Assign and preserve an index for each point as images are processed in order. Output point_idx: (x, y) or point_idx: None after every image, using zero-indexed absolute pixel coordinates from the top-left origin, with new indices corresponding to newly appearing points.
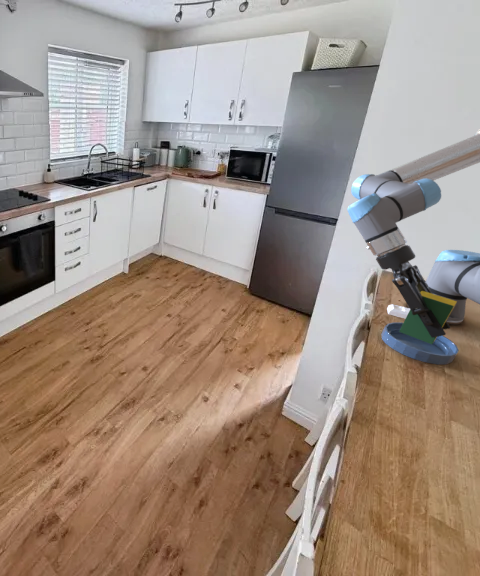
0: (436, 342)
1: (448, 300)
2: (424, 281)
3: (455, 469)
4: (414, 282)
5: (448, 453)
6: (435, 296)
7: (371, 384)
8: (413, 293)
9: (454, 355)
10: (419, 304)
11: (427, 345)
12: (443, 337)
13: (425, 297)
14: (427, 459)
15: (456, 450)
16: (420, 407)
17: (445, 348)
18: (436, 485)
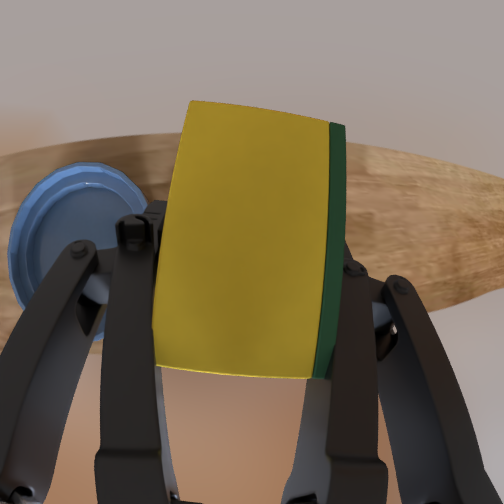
0: (42, 212)
1: (232, 147)
2: (12, 374)
3: (459, 180)
4: (381, 490)
5: (443, 184)
6: (218, 246)
7: None
8: (458, 397)
9: (109, 166)
10: (427, 322)
11: (59, 228)
12: (28, 200)
13: (335, 318)
14: (468, 209)
15: (430, 174)
16: (373, 219)
17: (63, 191)
18: (488, 202)
